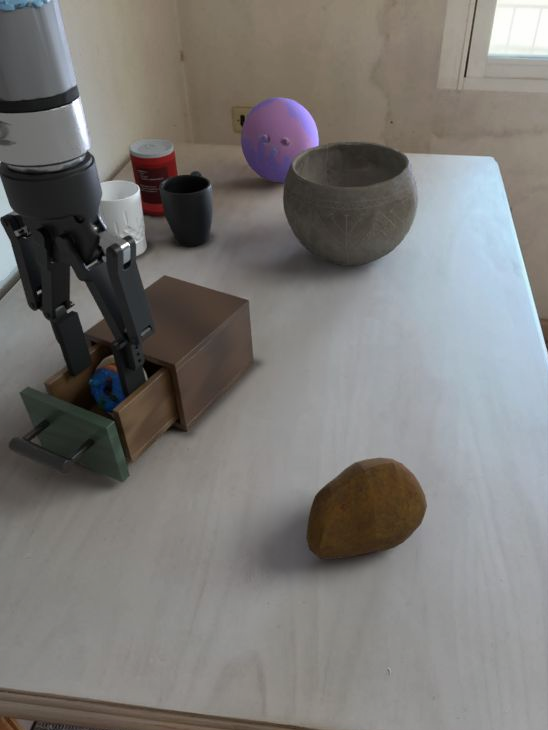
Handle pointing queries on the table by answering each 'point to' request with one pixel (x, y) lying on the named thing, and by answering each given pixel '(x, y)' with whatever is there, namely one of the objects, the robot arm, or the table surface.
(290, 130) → the decorative ball
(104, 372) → the dessert
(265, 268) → the table surface
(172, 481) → the table surface
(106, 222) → the white cup
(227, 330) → the cabinet
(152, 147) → the canned food
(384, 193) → the bowl
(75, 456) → the drawer
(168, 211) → the mug
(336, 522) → the potato
